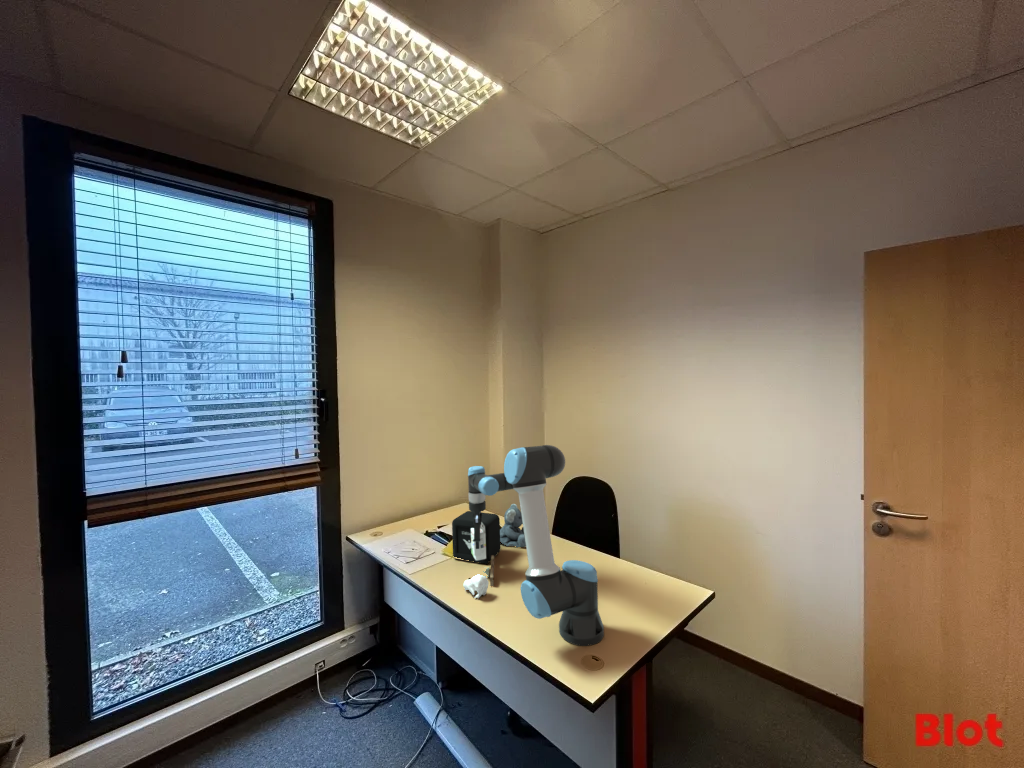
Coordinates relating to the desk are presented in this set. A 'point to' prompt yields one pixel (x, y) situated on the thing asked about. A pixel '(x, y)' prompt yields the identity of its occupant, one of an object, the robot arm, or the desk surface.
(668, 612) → the desk surface
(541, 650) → the desk surface
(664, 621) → the desk surface
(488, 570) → the pad
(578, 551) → the desk surface
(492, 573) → the rail
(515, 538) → the koala plush
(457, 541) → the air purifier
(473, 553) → the ink box
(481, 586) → the white lumpy piece
